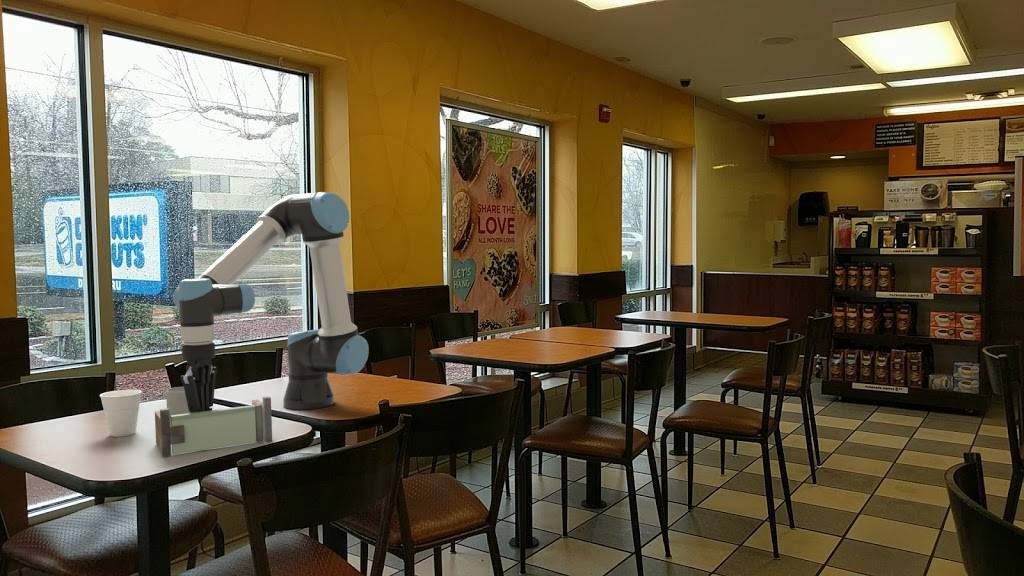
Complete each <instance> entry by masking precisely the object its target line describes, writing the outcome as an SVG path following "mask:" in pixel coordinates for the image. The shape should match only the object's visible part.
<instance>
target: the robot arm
mask: <svg viewBox="0 0 1024 576" xmlns="http://www.w3.org/2000/svg"><path fill="white" fill-rule="evenodd" d="M255 223H256V224H255V225H254V226H252V227H251V229H250V230H248V232H247V233H245V234H244V235H243V236H241V238H240V239H238V240H237V242H235V243H234V244H233V245H232V246H231V247H229V249H227V251H226V252H224V254H222V255H221V256H220V257H219V258H218V259H216V260H215V261H214V262H213V263H212V265H210V266H209V267H208V268H207V269H206V270H205V271H203V273H202V274H200V275H199V276H198V277H197V278H186V279H183V280H180V282H179V283H178V286H177V288H176V289H175V290H174V292H173V303H174V305H175V308H177V309H178V310H179V321H180V324H179V325H180V330H179V331H180V342H182V343H183V344H182V345H181V347H180V348H181V360H183V361H186V367H185V370H186V373H185V375H180V381H181V383H182V385H183V386H182V387H184V390H185V395H186V400H187V404H188V409H189V412H191V413H194V412H202V411H210V410H213V406H214V401H215V400H214V399H215V387H216V378H217V373H218V370H219V369H218V367H217V366H213V365H212V362H213V361H212V359H214V358H215V357H216V344H215V342H213V341H215V340H216V339H215V338H216V335H215V321H214V320H215V317H218V316H226V315H234V314H238V315H240V314H242V313H243V314H244V313H247V312H249V311H251V310H252V309H253V308H254V306H255V303H256V297H255V296H256V295H255V291H254V289H253V287H251V285H249V284H247V283H236V282H237V281H238V280H239V279H240V278H241V277H242V276H243V275H245V274H246V272H248V270H249V269H250V268H252V267H253V265H255V264H256V263H257V262H258V261H259V260H260V259H261V258H262V257H263V256H265V254H267V252H269V250H270V249H272V248H273V247H274V246H275V245H276V244H281V243H283V242H284V241H285V240H286V239H287V238H289V237H291V236H294V235H301V237H302V242H303V243H304V244H305V245H306V246H308V247H309V253H310V258H311V259H310V260H311V267H312V272H313V277H314V278H313V279H314V286H315V293H316V296H317V297H316V299H317V303H318V310H319V316H320V317H319V318H320V325H321V327H320V328H318V329H310V330H304V331H295V332H291V333H289V334H288V336H287V345H286V350H287V354H286V355H287V369H288V370H287V371H288V382H287V385H286V389H285V393H284V396H283V401H282V402H283V407H284V409H285V408H286V409H291V410H313V409H321V408H325V407H330V406H332V405H334V404H335V395H334V392H333V390H332V387H331V384H330V381H329V378H328V374H334V375H335V374H336V375H341V376H346V375H349V376H351V375H355V374H357V373H359V372H361V370H362V369H363V368H364V367H365V364H366V363H367V361H368V357H369V353H370V352H369V350H370V349H369V343H368V341H367V339H365V337H363V336H361V335H359V330H358V326H357V325H356V324H354V323H353V322H352V319H351V318H352V317H351V313H350V312H351V311H350V306H349V299H348V291H347V284H346V279H345V278H346V277H345V272H344V271H345V270H344V265H343V258H342V257H343V256H342V253H341V244H340V243H341V241H342V240H343V239H344V237H345V235H344V231H345V230H346V229H347V228H348V226H349V225H348V223H350V210H349V207H348V205H347V204H346V202H345V200H344V199H343V198H341V196H340V195H339V194H336V193H335V192H328V191H327V192H326V191H318V192H308V193H293V194H291V195H287V196H285V197H283V198H281V199H280V200H278V201H277V202H275V203H274V204H273V205H271V206H270V207H269V208H268V209H266V210H265V211H264V212H263V213H262V214H261V215H260V216H258V218H256V222H255Z"/></svg>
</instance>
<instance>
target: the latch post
mask: <svg viewBox="0 0 1024 576" xmlns="http://www.w3.org/2000/svg"><path fill="white" fill-rule="evenodd" d="M154 422H155V423H154V424H155V425H154V426H155V444H156V446H157V448H158V449H159V451H160V452H161V457H162V458H167V457H172V444H178V443H185V434H184V425H180V426H172V427H170V414H169V409H168V408H167V407H166V408H159V410H156V411H154Z"/></svg>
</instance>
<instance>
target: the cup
mask: <svg viewBox="0 0 1024 576" xmlns="http://www.w3.org/2000/svg"><path fill="white" fill-rule="evenodd" d="M141 394H143V391H142V390H140V389H119V390H112V391H111V390H110V391H107V392H103V393H101V394H99V397H100V399H101V404H102V408H103V412H104V416H105V420H106V425H107V428H108V429H107V430H108V434H109V436H110V437H113V438H115V437H116V438H121V437H123V438H124V437H128V436H132V435H134V434H135V433H136V431H137V425H138V424H137V423H138V415H139V409H140V402H141Z"/></svg>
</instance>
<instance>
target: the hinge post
mask: <svg viewBox="0 0 1024 576" xmlns="http://www.w3.org/2000/svg"><path fill="white" fill-rule="evenodd" d="M251 405H254V406H255V405H262V415H263V442H265V443H270V442H273V420H272V397H271V396H263V397H262V401H260V400H259V399H252V400H251Z"/></svg>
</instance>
